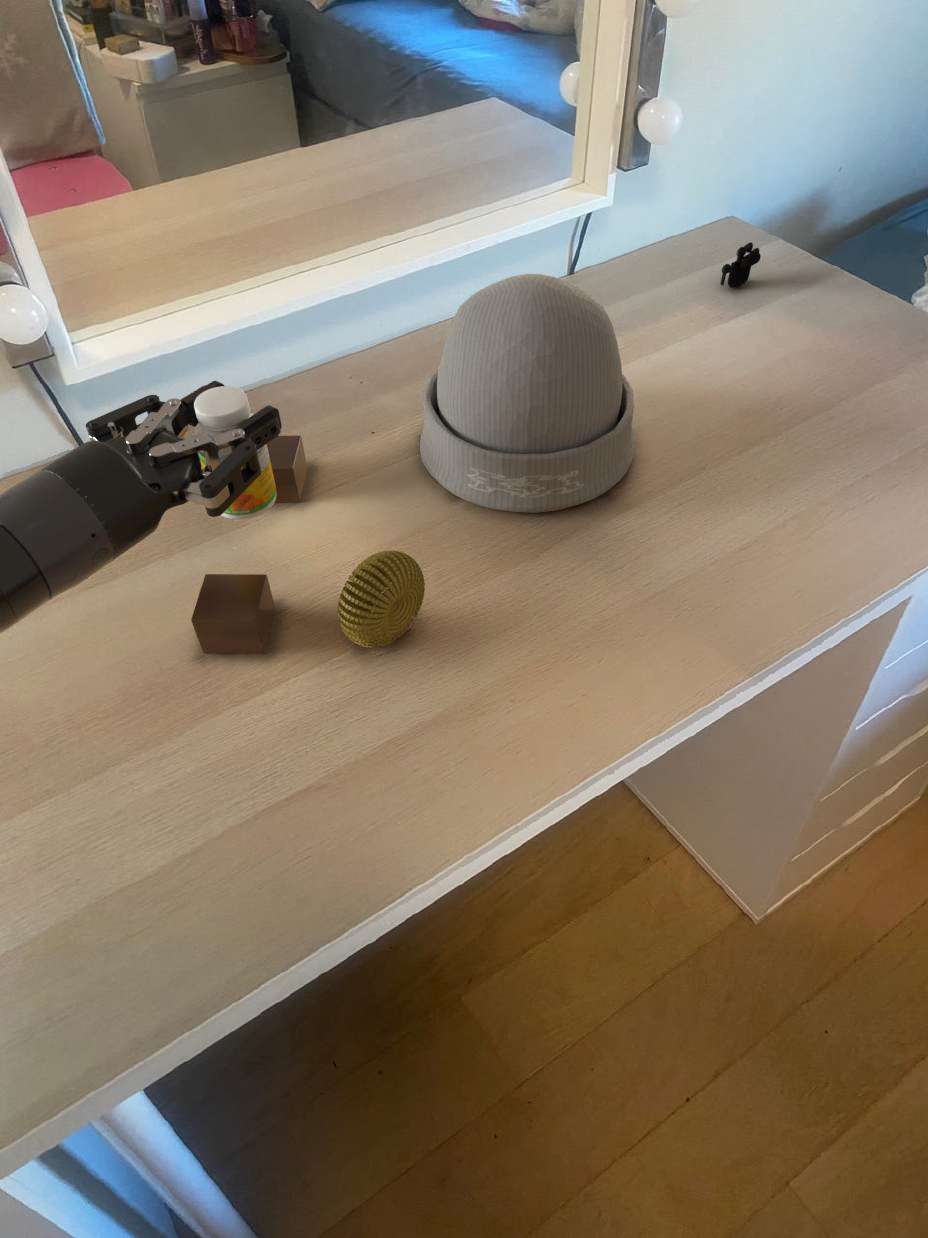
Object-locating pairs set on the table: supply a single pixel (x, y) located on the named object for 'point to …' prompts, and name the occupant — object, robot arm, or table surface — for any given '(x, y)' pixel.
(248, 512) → the supplement bottle
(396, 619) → the sculpture
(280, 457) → the block far
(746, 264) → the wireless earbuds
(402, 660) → the table surface
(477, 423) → the beanie hat
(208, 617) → the block near
